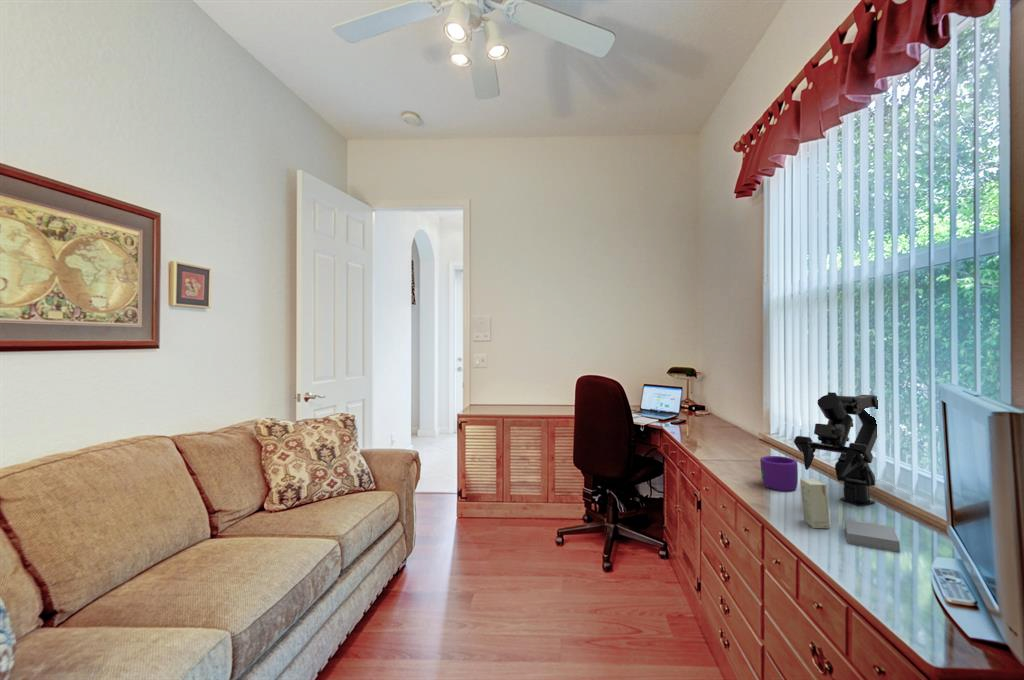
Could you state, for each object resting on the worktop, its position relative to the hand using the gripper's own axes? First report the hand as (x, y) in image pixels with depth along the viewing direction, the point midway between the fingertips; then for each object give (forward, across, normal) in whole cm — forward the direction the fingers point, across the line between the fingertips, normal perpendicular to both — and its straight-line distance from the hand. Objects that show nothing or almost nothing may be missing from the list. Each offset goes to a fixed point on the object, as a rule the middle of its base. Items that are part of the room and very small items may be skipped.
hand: (823, 472), depth 126 cm
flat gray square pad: (+15, +13, +5) cm, 20 cm away
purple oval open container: (-5, -24, +25) cm, 35 cm away
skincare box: (+14, 0, +5) cm, 15 cm away
